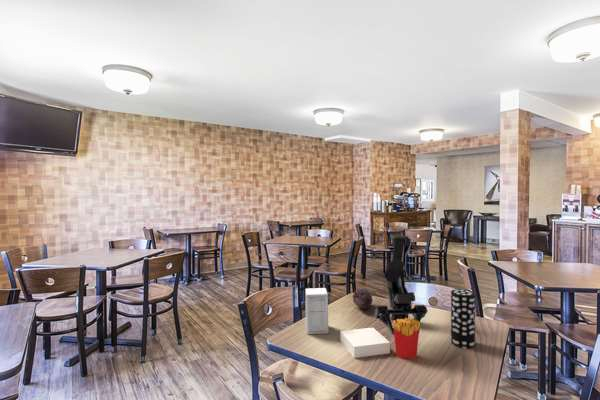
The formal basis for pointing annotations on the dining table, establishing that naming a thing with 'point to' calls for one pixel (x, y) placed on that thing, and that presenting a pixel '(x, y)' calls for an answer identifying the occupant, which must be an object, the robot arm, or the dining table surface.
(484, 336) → the dining table surface
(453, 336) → the white-spotted black cylinder
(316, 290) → the supplement box
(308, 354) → the dining table surface
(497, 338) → the dining table surface
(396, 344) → the french fries
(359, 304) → the pine cone
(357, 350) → the white flat square block
